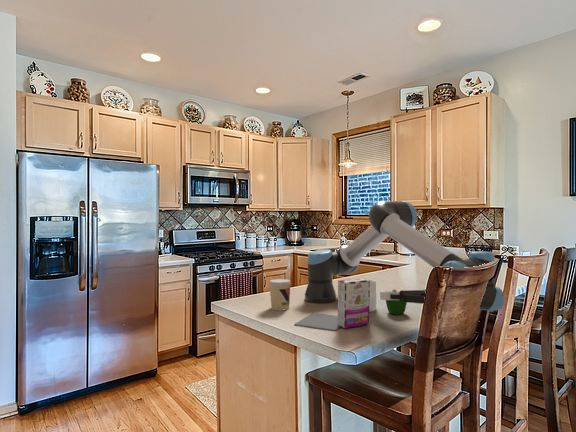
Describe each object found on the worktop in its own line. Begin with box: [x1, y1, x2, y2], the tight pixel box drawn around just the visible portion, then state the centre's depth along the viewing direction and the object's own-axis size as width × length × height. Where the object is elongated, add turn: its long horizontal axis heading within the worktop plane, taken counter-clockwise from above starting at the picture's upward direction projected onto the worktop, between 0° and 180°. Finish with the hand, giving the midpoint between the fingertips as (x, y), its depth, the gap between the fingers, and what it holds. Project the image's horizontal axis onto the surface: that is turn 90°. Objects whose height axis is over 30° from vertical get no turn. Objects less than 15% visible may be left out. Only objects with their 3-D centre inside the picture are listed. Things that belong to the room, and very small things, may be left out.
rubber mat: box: [294, 312, 342, 332], centre depth 133 cm, size 16×17×1 cm
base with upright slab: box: [369, 279, 377, 313], centre depth 151 cm, size 9×9×12 cm
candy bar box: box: [337, 277, 371, 329], centre depth 128 cm, size 11×5×16 cm, turn 118°
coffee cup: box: [268, 278, 292, 311], centre depth 154 cm, size 9×9×12 cm
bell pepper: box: [385, 289, 408, 316], centre depth 144 cm, size 8×8×10 cm
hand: (380, 295), depth 126 cm, fingers closed
